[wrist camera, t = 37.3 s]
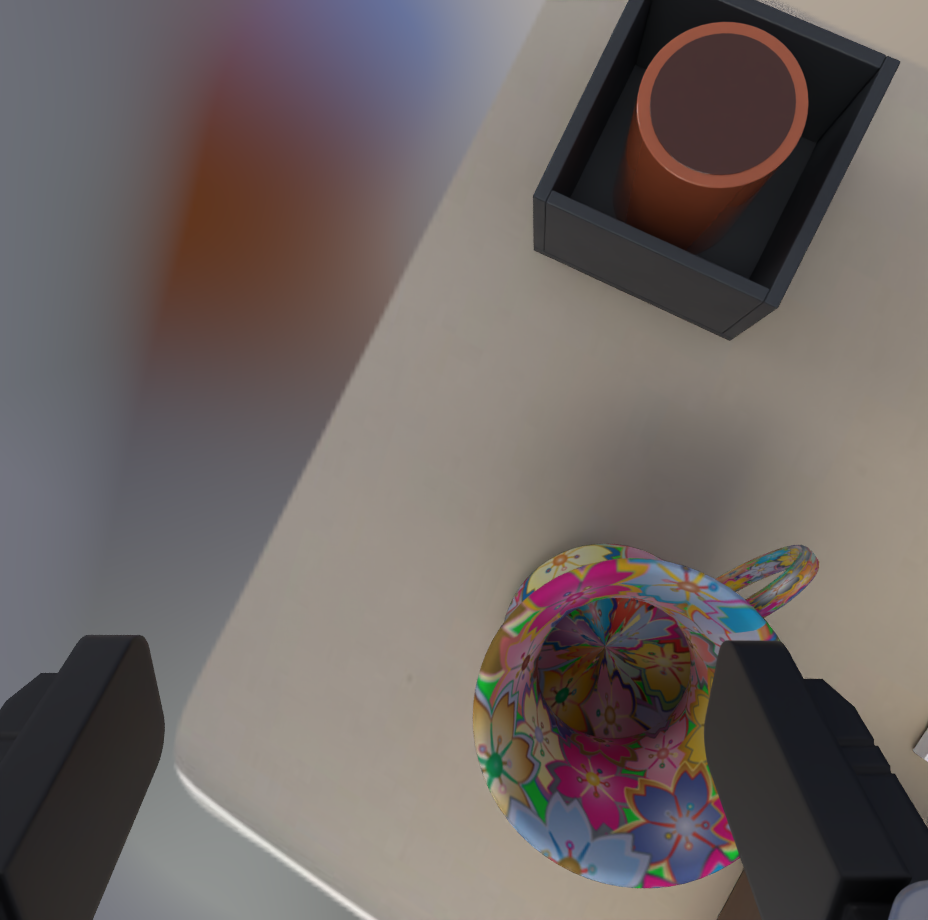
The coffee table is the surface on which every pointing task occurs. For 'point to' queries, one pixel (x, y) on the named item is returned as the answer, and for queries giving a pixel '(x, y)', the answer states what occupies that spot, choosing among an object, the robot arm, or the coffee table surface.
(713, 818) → the mug
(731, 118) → the cup
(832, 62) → the tub
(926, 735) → the photo frame
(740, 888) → the wood grain cube
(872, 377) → the coffee table surface
